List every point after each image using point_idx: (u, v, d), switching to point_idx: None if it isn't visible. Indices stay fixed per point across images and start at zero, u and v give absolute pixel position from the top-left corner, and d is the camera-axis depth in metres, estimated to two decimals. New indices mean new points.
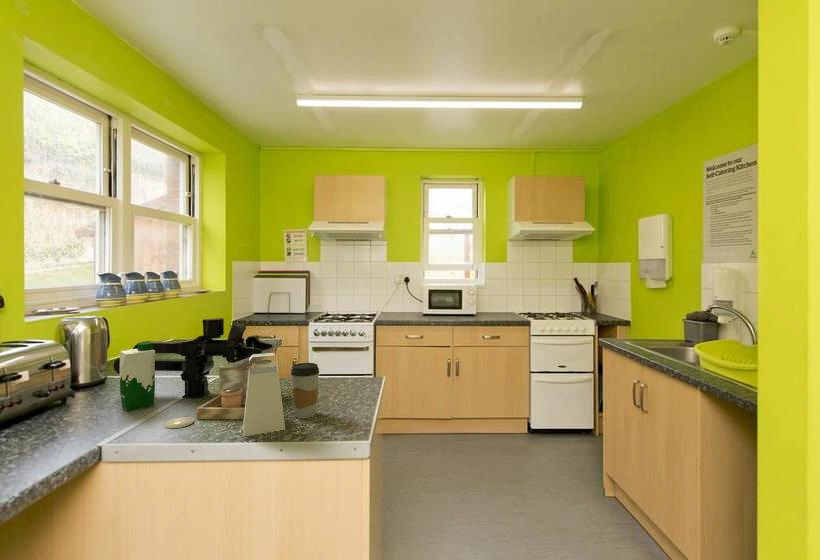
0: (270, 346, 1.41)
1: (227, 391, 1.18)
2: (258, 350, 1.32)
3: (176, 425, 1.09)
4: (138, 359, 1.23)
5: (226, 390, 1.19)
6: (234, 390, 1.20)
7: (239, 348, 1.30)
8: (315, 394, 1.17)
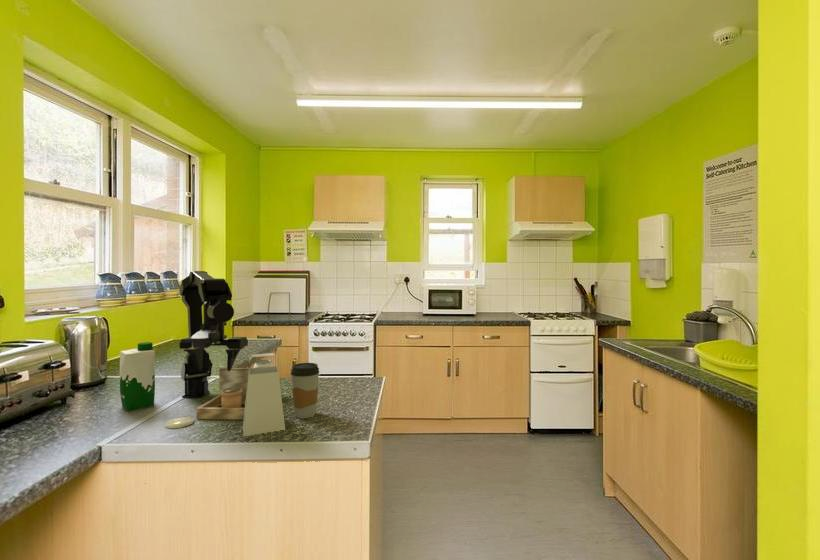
0: None
1: (227, 391, 1.18)
2: None
3: (176, 425, 1.09)
4: (138, 359, 1.23)
5: (226, 390, 1.20)
6: (234, 390, 1.20)
7: None
8: (315, 394, 1.17)
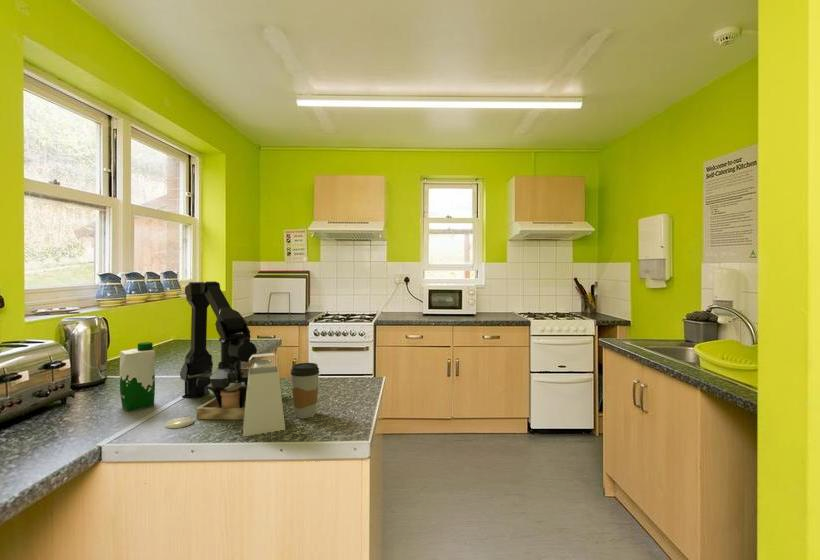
0: None
1: (227, 391, 1.18)
2: None
3: (176, 425, 1.09)
4: (138, 359, 1.23)
5: (226, 390, 1.20)
6: (234, 390, 1.20)
7: None
8: (315, 394, 1.17)
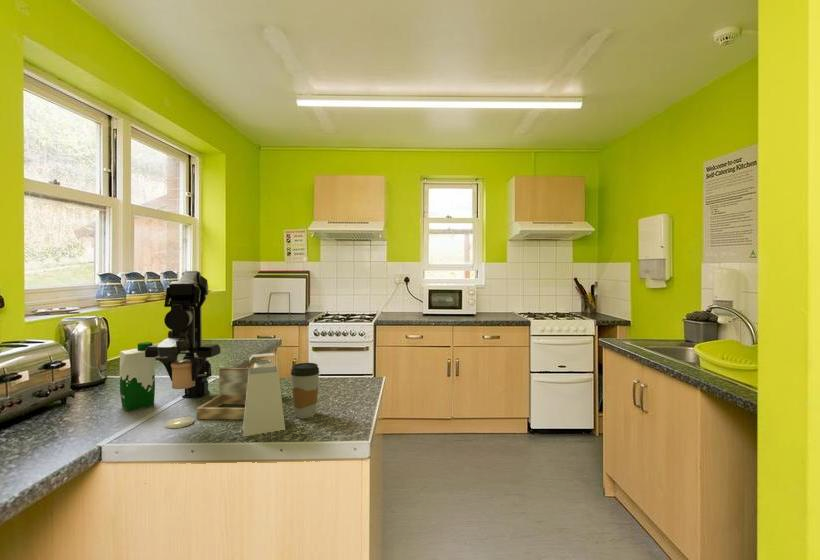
0: None
1: (178, 362, 1.10)
2: None
3: (176, 425, 1.09)
4: (138, 359, 1.23)
5: (177, 361, 1.11)
6: (186, 361, 1.11)
7: None
8: (315, 394, 1.17)
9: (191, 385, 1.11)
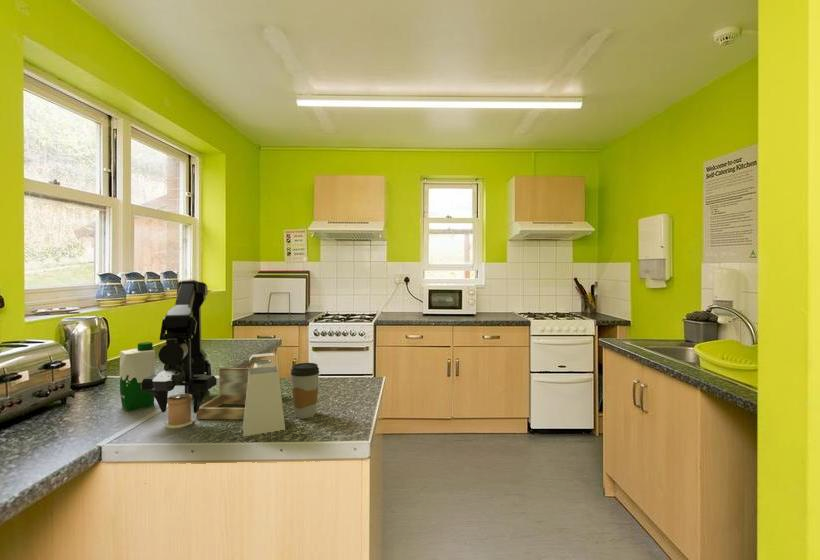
0: None
1: (174, 398, 1.09)
2: None
3: (176, 425, 1.09)
4: (138, 359, 1.23)
5: (173, 397, 1.11)
6: (182, 397, 1.11)
7: None
8: (315, 394, 1.17)
9: (187, 421, 1.11)
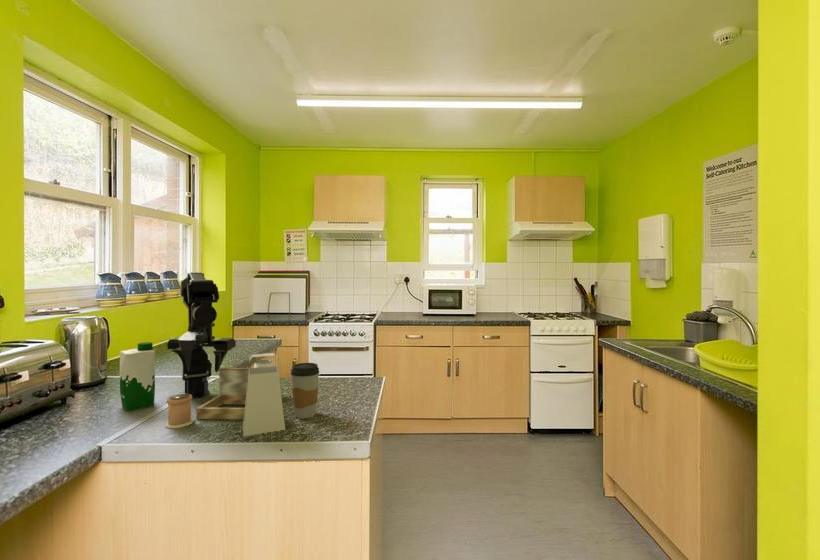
0: None
1: (174, 398, 1.09)
2: None
3: (176, 425, 1.09)
4: (138, 359, 1.23)
5: (173, 397, 1.11)
6: (182, 397, 1.11)
7: None
8: (315, 394, 1.17)
9: (187, 421, 1.11)
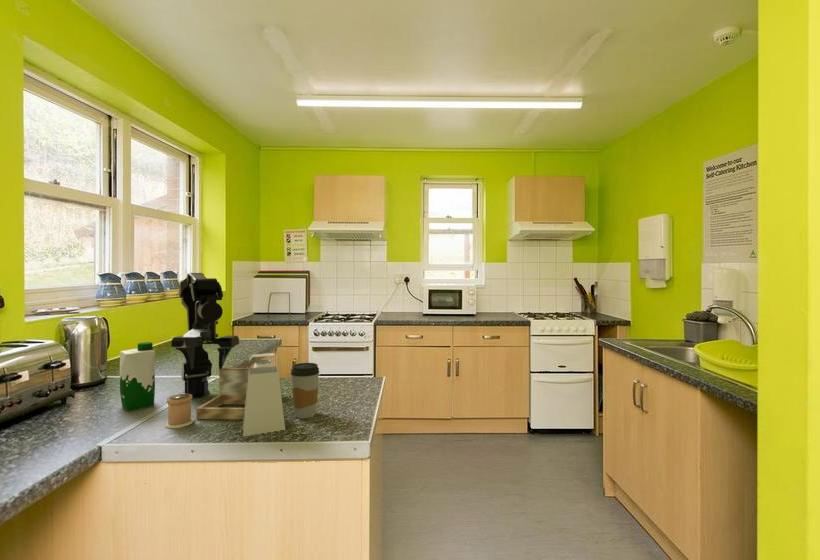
0: None
1: (174, 398, 1.09)
2: None
3: (176, 425, 1.09)
4: (138, 359, 1.23)
5: (173, 397, 1.11)
6: (182, 397, 1.11)
7: None
8: (315, 394, 1.17)
9: (187, 421, 1.11)
